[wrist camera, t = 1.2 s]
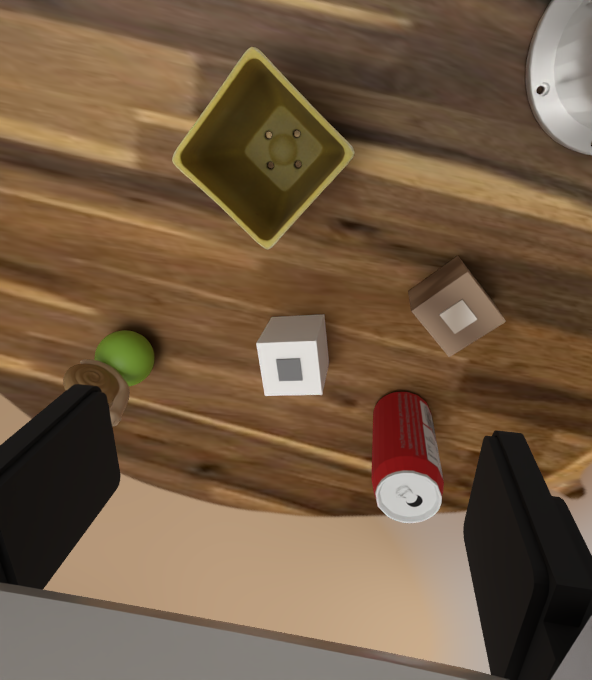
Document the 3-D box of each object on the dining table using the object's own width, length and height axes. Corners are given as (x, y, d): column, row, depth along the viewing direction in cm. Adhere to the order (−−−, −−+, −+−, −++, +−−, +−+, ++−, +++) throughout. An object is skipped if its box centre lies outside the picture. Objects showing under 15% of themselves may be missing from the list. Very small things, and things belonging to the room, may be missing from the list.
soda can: (361, 412, 46) (356, 498, 36) (401, 378, 44) (408, 459, 33) (401, 446, 47) (408, 539, 37) (443, 414, 45) (462, 504, 34)
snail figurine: (158, 384, 49) (95, 456, 38) (105, 351, 49) (26, 414, 38) (180, 347, 47) (120, 412, 36) (125, 311, 46) (47, 367, 35)
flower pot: (363, 147, 37) (358, 153, 29) (289, 228, 40) (266, 253, 32) (281, 61, 35) (251, 41, 27) (212, 153, 39) (167, 159, 31)
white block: (324, 314, 43) (315, 341, 37) (329, 362, 45) (321, 395, 39) (271, 316, 44) (255, 344, 38) (278, 364, 46) (264, 396, 40)
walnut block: (457, 255, 39) (468, 272, 34) (492, 299, 40) (506, 322, 35) (408, 291, 41) (411, 312, 36) (441, 332, 42) (449, 358, 37)
